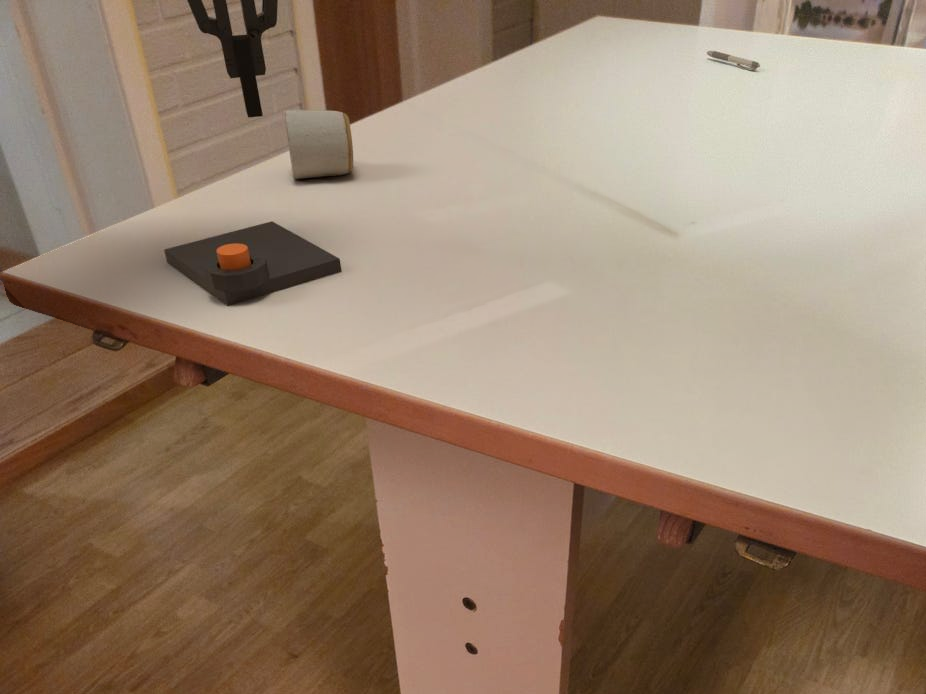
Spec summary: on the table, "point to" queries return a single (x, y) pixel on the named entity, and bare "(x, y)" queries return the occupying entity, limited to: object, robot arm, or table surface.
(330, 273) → the dark grey flat block
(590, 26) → the table surface
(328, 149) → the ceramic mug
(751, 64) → the pen
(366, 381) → the table surface
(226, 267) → the button
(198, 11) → the robot arm
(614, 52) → the table surface
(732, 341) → the table surface
